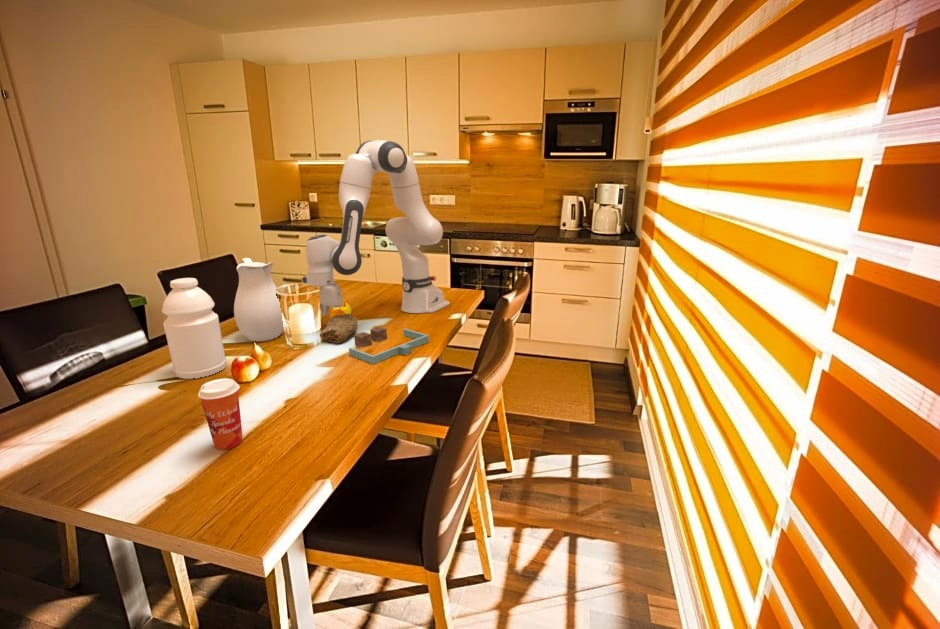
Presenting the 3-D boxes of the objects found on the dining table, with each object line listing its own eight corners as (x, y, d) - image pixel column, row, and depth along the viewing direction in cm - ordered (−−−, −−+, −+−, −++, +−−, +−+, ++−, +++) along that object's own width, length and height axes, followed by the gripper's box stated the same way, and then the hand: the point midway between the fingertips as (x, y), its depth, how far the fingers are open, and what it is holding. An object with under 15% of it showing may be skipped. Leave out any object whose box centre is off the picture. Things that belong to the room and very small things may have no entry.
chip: (364, 342, 160) (363, 331, 159) (371, 345, 158) (370, 334, 157) (355, 345, 157) (354, 334, 156) (362, 348, 155) (361, 337, 154)
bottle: (164, 374, 136) (143, 282, 128) (207, 358, 148) (190, 273, 140) (195, 383, 130) (175, 287, 122) (237, 365, 142) (221, 277, 134)
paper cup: (207, 456, 96) (194, 396, 92) (210, 438, 103) (199, 381, 99) (248, 447, 99) (237, 388, 95) (249, 430, 106) (239, 374, 102)
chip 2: (379, 337, 166) (379, 326, 164) (387, 339, 163) (386, 328, 162) (371, 340, 163) (370, 329, 161) (378, 342, 160) (377, 331, 159)
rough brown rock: (347, 348, 159) (370, 320, 176) (339, 329, 155) (363, 302, 172) (315, 351, 163) (340, 323, 180) (306, 333, 159) (333, 306, 176)
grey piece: (405, 335, 167) (404, 328, 166) (434, 343, 158) (433, 336, 157) (349, 355, 149) (348, 348, 148) (379, 366, 140) (378, 358, 139)
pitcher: (294, 338, 165) (283, 261, 157) (242, 348, 156) (229, 267, 148) (278, 321, 184) (268, 252, 176) (232, 329, 175) (219, 257, 167)
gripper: (345, 281, 166) (348, 317, 170) (313, 274, 178) (316, 308, 182) (331, 284, 161) (334, 321, 165) (298, 277, 174) (302, 312, 178)
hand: (324, 315), depth 174 cm, fingers closed
